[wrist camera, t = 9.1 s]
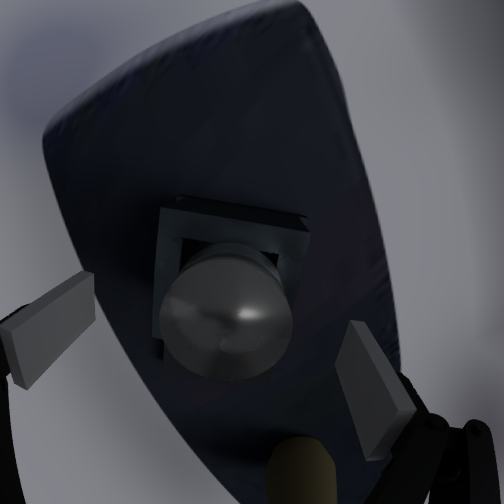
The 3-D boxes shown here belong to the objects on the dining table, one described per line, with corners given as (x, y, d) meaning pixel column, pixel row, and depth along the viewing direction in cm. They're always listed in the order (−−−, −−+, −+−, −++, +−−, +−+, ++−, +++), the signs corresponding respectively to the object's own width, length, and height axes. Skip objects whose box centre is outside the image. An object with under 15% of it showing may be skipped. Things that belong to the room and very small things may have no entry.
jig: (267, 379, 28) (268, 433, 21) (166, 361, 28) (144, 410, 21) (305, 216, 24) (324, 235, 17) (180, 194, 23) (148, 205, 16)
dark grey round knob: (265, 302, 24) (278, 386, 14) (191, 292, 24) (158, 370, 14) (279, 229, 23) (305, 275, 13) (199, 217, 22) (162, 254, 12)
